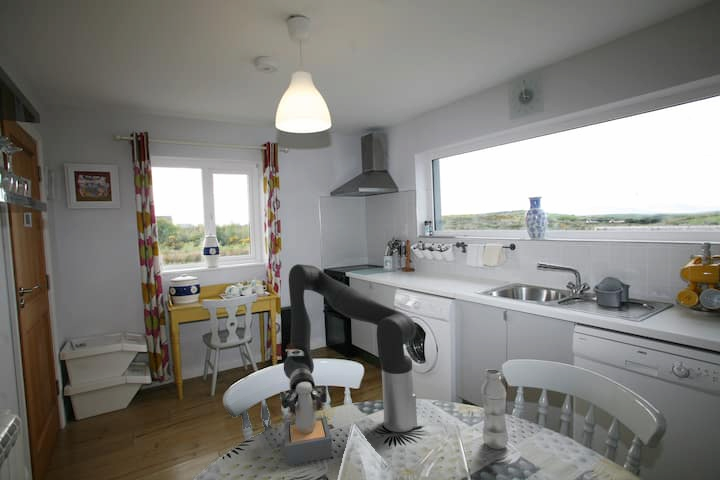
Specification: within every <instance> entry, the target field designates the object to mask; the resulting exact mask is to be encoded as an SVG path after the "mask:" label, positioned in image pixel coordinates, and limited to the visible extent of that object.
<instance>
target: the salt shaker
mask: <svg viewBox="0 0 720 480" xmlns="http://www.w3.org/2000/svg"><path fill="white" fill-rule="evenodd" d="M296 391H297V393H298V394H299V396H298V404H297V406H296V411H295V412H296V415H295V420H294V421H295V423H296V427H297V428H298V430H299V432H300V433H301V434H309V433H311V432H313V430H314V427H315V425H316V422H317V420H316V418H317V416H316V412H315V409H314V408H315V407H314V403H312V399H311V394H310V392H311V391H312V385H311V383H309V382H301V383H299V384H298V385H297V386H296Z"/></svg>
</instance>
